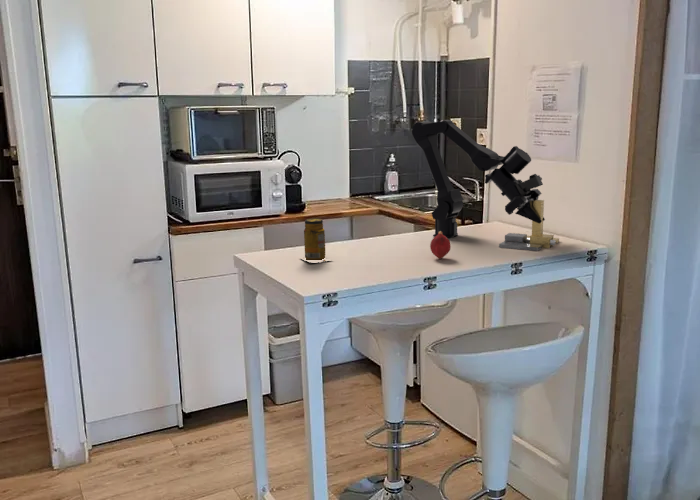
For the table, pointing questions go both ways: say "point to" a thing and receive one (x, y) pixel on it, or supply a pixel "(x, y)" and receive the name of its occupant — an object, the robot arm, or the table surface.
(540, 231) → the brass block assembly
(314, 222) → the condiment
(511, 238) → the fixed leaf
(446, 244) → the onion
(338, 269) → the table surface
